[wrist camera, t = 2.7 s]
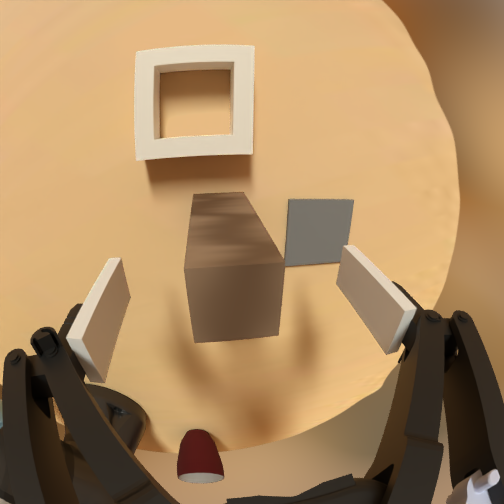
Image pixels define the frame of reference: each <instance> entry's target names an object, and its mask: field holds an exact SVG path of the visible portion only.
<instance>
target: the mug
mask: <svg viewBox="0 0 504 504" xmlns="http://www.w3.org/2000/svg"><path fill="white" fill-rule="evenodd" d="M177 475H178V479H180V480H182V481H185V482H190V483H212V482H217V481H220V480H222V479H224V471H223V465H222V462H221V459H220V456H219V453H218V450H217V447H216V444H215V442H214V441H213V439H212V438H211V437H210V435H209V434H208V433H207V432H206V431H204V430H199V429H194V430H190V431H188V432H187V433H186V434H185V436H184V438H183V439H182V441H181V444H180V449H179V455H178V461H177Z"/></svg>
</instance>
